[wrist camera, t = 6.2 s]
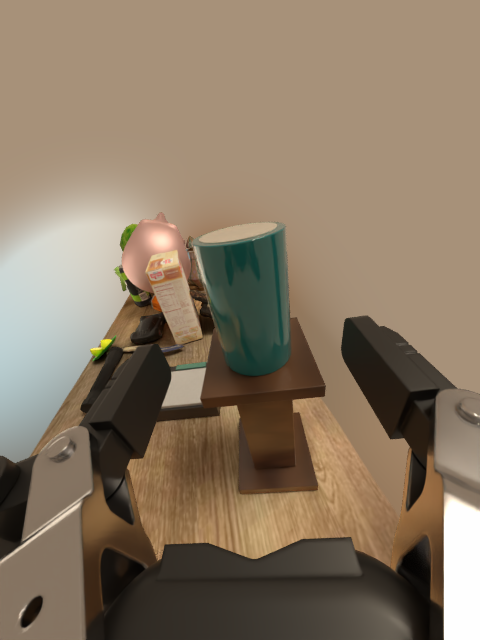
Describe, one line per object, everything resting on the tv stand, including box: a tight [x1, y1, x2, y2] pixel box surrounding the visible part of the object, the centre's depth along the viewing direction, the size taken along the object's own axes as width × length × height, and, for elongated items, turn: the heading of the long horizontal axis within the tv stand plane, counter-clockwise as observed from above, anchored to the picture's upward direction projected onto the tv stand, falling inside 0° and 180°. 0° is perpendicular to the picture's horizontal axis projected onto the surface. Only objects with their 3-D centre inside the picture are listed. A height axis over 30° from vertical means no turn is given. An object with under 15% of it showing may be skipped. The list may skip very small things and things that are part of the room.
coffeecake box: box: [145, 250, 203, 345], centre depth 53 cm, size 15×7×20 cm, turn 15°
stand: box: [200, 318, 326, 494], centre depth 23 cm, size 9×9×18 cm
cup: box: [192, 222, 292, 376], centre depth 16 cm, size 6×6×10 cm
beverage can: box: [118, 265, 152, 307], centre depth 74 cm, size 6×6×15 cm
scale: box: [157, 362, 220, 421], centre depth 38 cm, size 12×10×3 cm
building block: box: [151, 295, 162, 312], centre depth 59 cm, size 6×6×3 cm
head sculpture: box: [122, 212, 191, 293], centre depth 70 cm, size 20×26×30 cm
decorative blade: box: [107, 344, 184, 354], centre depth 51 cm, size 21×1×5 cm
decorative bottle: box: [186, 236, 206, 294], centre depth 73 cm, size 10×10×20 cm
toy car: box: [130, 312, 166, 344], centre depth 59 cm, size 7×15×4 cm, turn 8°
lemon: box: [90, 336, 116, 361], centre depth 53 cm, size 8×8×3 cm
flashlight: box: [80, 347, 123, 413], centre depth 44 cm, size 3×16×3 cm, turn 11°
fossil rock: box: [189, 290, 213, 319], centre depth 56 cm, size 14×14×6 cm
